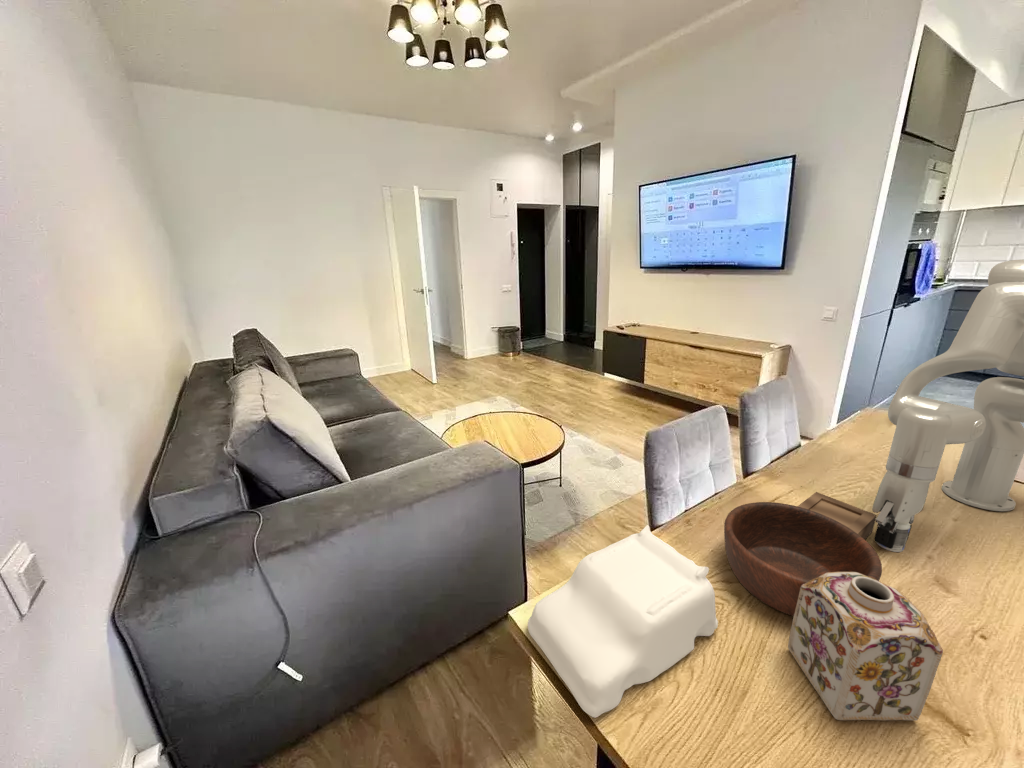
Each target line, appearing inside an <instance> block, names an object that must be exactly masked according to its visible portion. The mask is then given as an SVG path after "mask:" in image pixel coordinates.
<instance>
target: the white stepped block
mask: <svg viewBox="0 0 1024 768" xmlns="http://www.w3.org/2000/svg"><path fill="white" fill-rule="evenodd" d="M650 528H651V527H650V526H649V525H648V524H647V525H645V527H643V528H642V529H641V531H640V532H639V533H638V532H637V533H633V534H630V535H629V536H627V537H625V538H624V537H623V539H621V540H618V541H616V542H614V543H611V544H610V545H607V546H606V547H604V548H602V549H599V550H597V551H594V552H591V553H589V554H587V555H586V556H584V557H583V558H582V559H581V560H580V561H579V562H578V563H577V566H576V568H575V569H574V571H573V573H572V575H571V577H570V578H569V580H568V581H567V582H565V584H563V585H562V586H560V587H559V588H557V589H556V590H554V591H552V592H551V593H550V594H547V595H545V596H544V597H543V598H542V599H540V600H538V601H537V602H536V603H535V605H534V608H533V610H532V614H531V616H530V617H529V619H528V621H527V630H528V634H529V635H530V636H531V638H532V639H533V640H534V642H535V643H536V644H537V646H538V647H539V648H540V649H541V650H542V652H543V654H545V656H546V657H547V659H548V660H549V662H550V663H551V664H552V666H553V668H554V669H555V671H556V672H557V674H558V676H559V677H560V678H561V679H562V680H563V682H564V683H565V685H566V686H567V688H568V689H569V691H570V693H571V694H572V695H573V697H574V699H575V701H576V702H577V703H578V706H580V708H581V710H582V711H583V712H585V713H586V714H587V715H589V716H590V717H592V718H598V717H599V716H601V715H602V714H604V713H607V712H610V711H611V710H613V709H615V708H616V707H618V706H619V704H620V703H621V700H622V698H623V695H624V693H625V691H626V690H628V689H629V688H631V687H632V686H634V685H640V684H644V683H647V682H650V681H652V680H654V679H655V678H656V677H658V676H659V675H660V674H662V673H664V672H665V671H667V670H669V669H670V668H671V667H672V666H675V664H676V663H678V662H679V661H681V660H682V659H683V658H685V657H686V656H687V655H688V654H690V653H691V652H692V651H693V650H694V649H695V640H696V638H697V637H704V636H705V637H710V636H712V635H713V634H714V632H715V630H716V629H717V628H718V625H719V620H718V619H717V615H716V613H717V612H716V610H717V609H716V593H715V590H714V587H713V585H712V583H711V582H710V581H709V579H708V578H707V575H708V573H709V570H710V568H709V567H708V566H701V565H697V564H696V563H695V562H694V561H693V560H692V559H689V558H688V557H687V556H685V555H684V554H683V555H682V553H680V552H679V551H677V550H676V549H675V547H673V546H671V545H670V544H668V543H667V542H664V540H662V539H661V538H660V537H659V538H658V537H657V536H656V535H654V534H653V532H652V531H651V529H650Z"/></svg>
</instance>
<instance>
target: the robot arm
mask: <svg viewBox="0 0 1024 768" xmlns="http://www.w3.org/2000/svg"><path fill="white" fill-rule="evenodd" d="M987 285H988V286H985V287H984V288H983V289H981V290H980V291H979V292H978V294H977V295H976V297H975V299H974V301H973V303H972V304H971V306H970V308H969V310H968V312H967V314H966V315H965V317H964V320H963V322H962V324H961V325H960V328H959V329H958V331H957V333H956V336H954V338H953V341H952V343H951V345H950V347H948V349H947V350H946V351H944V352H943V353H941V354H939V355H937V356H934V357H932V358H929V359H928V360H927V361H925V362H923V363H920V365H918V366H916V367H915V368H914V369H913V370H911V371H910V372H908V374H907V375H906V376H905V377H904V378H903V380H901V383H899V386H898V388H897V389H896V391H895V394H894V395H893V397H892V400H891V401H890V404H889V406H888V409H887V418H888V420H889V421H890V422H891V423H892V424H893V425H894V426H895V429H894V433H893V437H892V442H891V444H890V445H891V446H890V450H889V453H888V455H887V456H888V457H887V461H886V464H885V470H886V471H885V474H884V475H883V478H882V480H881V482H880V485H879V487H878V490H877V493H876V496H875V498H874V502H873V504H872V508H871V509H872V513H874V514H875V513H876V514H877V513H878V515H877V516H876V520H875V523H876V526H877V527H876V530H875V531H876V532H875V535H874V538H873V540H874V541H875V543H876V542H877V543H879V544H881V545H883V546H885V547H887V548H889V549H891V548H893V546H894V542H895V539H896V535H897V533H896V532H895V531H896V528H897V526H898V524H899V522H901V521H904V520H906V519H908V518H910V521H909V524H910V530H909V533H908V537H907V540H908V539H909V536H910V532H911V529H912V524H913V523H914V522H915V521H914V520H915V515H918V514H919V513H920V512H921V511H922V510H923V508H924V506H925V504H926V500H927V497H928V493H929V488H930V484H931V483H932V482H934V481H935V480H936V477H937V474H938V471H939V467H940V465H941V462H942V461H941V460H942V457H943V455H944V452H945V447H946V446H947V445H962V444H963V448H962V451H961V455H960V457H959V461H958V463H957V466H956V470H955V473H954V476H953V478H952V480H948V481H945V482H943V483H942V484H941V490H942V491H943V493H945V495H946V496H949V497H950V498H952V499H954V500H956V501H958V502H961V503H962V504H966V505H968V506H971V507H974V508H979V509H982V510H989V511H994V512H1010V511H1012V510H1014V509H1015V507H1016V504H1017V503H1016V501H1015V500H1014V499H1013V498H1012V496H1010V492H1011V490H1012V487H1013V485H1014V481H1015V478H1016V476H1017V473H1018V471H1019V468H1020V466H1021V462H1022V460H1023V458H1024V426H1023V424H1022V423H1024V379H1020V378H1016V377H1007V376H997V377H995V376H994V377H989V378H987V379H985V380H982V381H981V382H980V383H979V384H978V385H977V387H976V389H975V392H974V397H973V408H970V407H968V406H963V405H959V404H954V403H950V402H946V401H943V400H937V399H933V398H930V397H925V396H920V393H921V392H922V391H923V389H925V387H926V386H927V385H929V384H930V383H931V382H933V381H934V380H936V379H939V378H942V377H945V376H948V375H953V374H957V373H965V372H970V371H979V370H981V371H982V370H988V369H989V370H990V369H995V368H996V369H997V370H998V371H1000V372H1003V373H1005V374H1010V375H1014V376H1015V375H1016V376H1021V377H1024V259H1013V260H1006V261H1002V262H999V263H997V264H995V265H994V266H993V267H992V268H991V270H990V271H989V274H988V276H987ZM890 514H892V515H893V516H894V517H895V518H894V517H892V516H890ZM887 519H889V520H891V521H894V522H893V524H892V526H891V524H890V523H888V521H887ZM877 543H876V544H877Z"/></svg>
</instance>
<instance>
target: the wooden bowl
mask: <svg viewBox="0 0 1024 768" xmlns="http://www.w3.org/2000/svg"><path fill="white" fill-rule="evenodd" d="M723 523H724V524H723V526H724V527H723V531H724V532H723V533H724V534H723V535H724V549H725V552H726V557H727V558H726V559H727V560H728V563H729V565H730V568H731V570H732V573H733V574H734V576H735V577H736V578H737V580H738V581H739V582H740V584H741V585H742V586H743V588H744V589H746V591H748V592H749V593H750V594H751V595H752V596H754V597H755V598H756V599H757V600H759V601H760V602H762V603H764V604H765V605H767V606H768V607H771V608H772V609H775V610H777V611H779V612H781V613H783V614H786V615H789V616H792V617H794V614H795V610H796V605H797V601H798V597H799V592H800V588H801V586H802V584H805V583H807V582H809V581H810V580H812V579H815V578H818V577H819V576H821V575H823V574H825V573H829V572H857V573H860V574H863V575H865V576H868V577H870V578H873V579H876V580H878V581H879V582H880V579H881V578H882V573H883V566H882V562H881V559H880V556H879V554H878V553H877V552H876V550H875V548H873V547H872V546H871V544H870V543H869V541H867V540H866V539H863V538H862V537H861V536H860V535H858V534H857V533H856V532H854V531H853V530H851V529H850V528H848V527H847V526H845V525H843V524H841V523H840V522H838V521H836V520H834V519H832V518H829V517H827V516H825V515H822V514H820V513H817V512H814V511H812V510H808V509H805V508H802V507H798V505H793V504H787V503H783V502H775V501H774V502H772V501H771V502H769V501H757V502H750V503H745V504H744V503H743V504H741V505H739V506H737V507H735V508H733V509H732V510H730V511H729V512H728V513H727V515H726V518H725V519H724V522H723Z"/></svg>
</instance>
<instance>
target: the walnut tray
mask: <svg viewBox="0 0 1024 768" xmlns="http://www.w3.org/2000/svg"><path fill="white" fill-rule="evenodd" d="M797 506H798V507H802V508H805V509H808V510H812V511H814V512H817V513H820V514H822V515H825V516H827V517H829V518H832V519H834V520H836V521H838V522H840V523H841V524H843V525H845V526H847V527H848V528H850V529H851V530H853V531H854V532H856V533H857V534H858V535H860V536H861V537H862V538H863V539H865V540H866V539H867V538H868V537H869V536H870V535H871V534H872V532H873V530H874V527H875V524H876V518H877V517H878V515H877V513H876V514H875V513H874V512H870V511H869V510H868V511H867V510H865V509H862V508H860V507H857V506H854V505H851V504H849V503H847V502H844V501H841V500H838V499H836V498H833V497H831V496H829V495H826V494H823V493H820V492H817V491H815V492H814V493H813V494H812V495H810V496H809V497H807V498H806V499H805V500H803V501H802V502H801V503H800V504H798V505H797Z"/></svg>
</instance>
